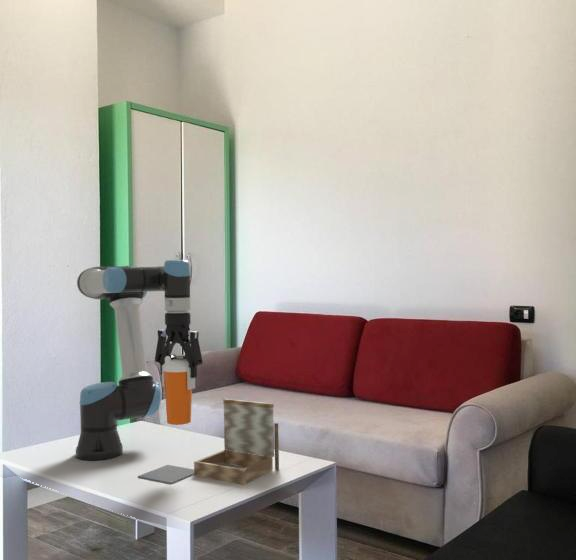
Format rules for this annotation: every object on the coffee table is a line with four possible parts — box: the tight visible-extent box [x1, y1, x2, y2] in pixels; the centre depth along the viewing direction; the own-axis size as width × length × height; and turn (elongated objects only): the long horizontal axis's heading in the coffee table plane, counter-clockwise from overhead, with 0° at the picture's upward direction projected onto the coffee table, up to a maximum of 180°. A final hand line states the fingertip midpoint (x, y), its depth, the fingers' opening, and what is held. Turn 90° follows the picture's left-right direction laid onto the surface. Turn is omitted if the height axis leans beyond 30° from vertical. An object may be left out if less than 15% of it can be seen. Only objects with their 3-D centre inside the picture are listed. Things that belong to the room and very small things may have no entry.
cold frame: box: [193, 398, 280, 485], centre depth 199 cm, size 19×17×20 cm
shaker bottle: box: [163, 353, 193, 426], centre depth 198 cm, size 9×9×20 cm
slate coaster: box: [137, 464, 195, 485], centre depth 198 cm, size 13×13×1 cm
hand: (178, 387), depth 198 cm, fingers closed on shaker bottle, 9 cm apart
